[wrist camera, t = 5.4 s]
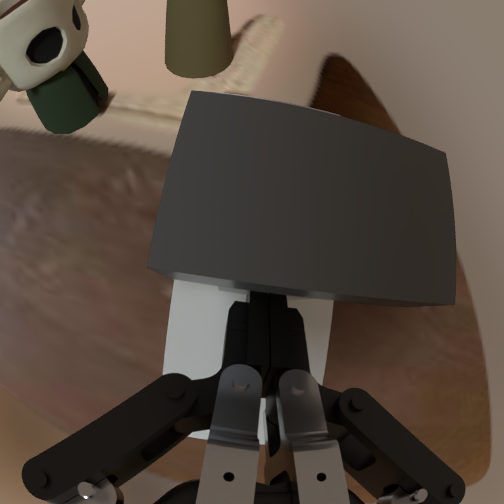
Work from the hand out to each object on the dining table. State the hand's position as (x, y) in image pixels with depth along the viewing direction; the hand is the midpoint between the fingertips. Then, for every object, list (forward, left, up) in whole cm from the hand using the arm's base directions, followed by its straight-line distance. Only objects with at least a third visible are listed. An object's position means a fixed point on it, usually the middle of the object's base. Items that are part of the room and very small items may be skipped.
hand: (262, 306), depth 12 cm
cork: (-18, +11, -6) cm, 22 cm away
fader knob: (-1, +2, -3) cm, 4 cm away
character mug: (-21, 0, -6) cm, 22 cm away
